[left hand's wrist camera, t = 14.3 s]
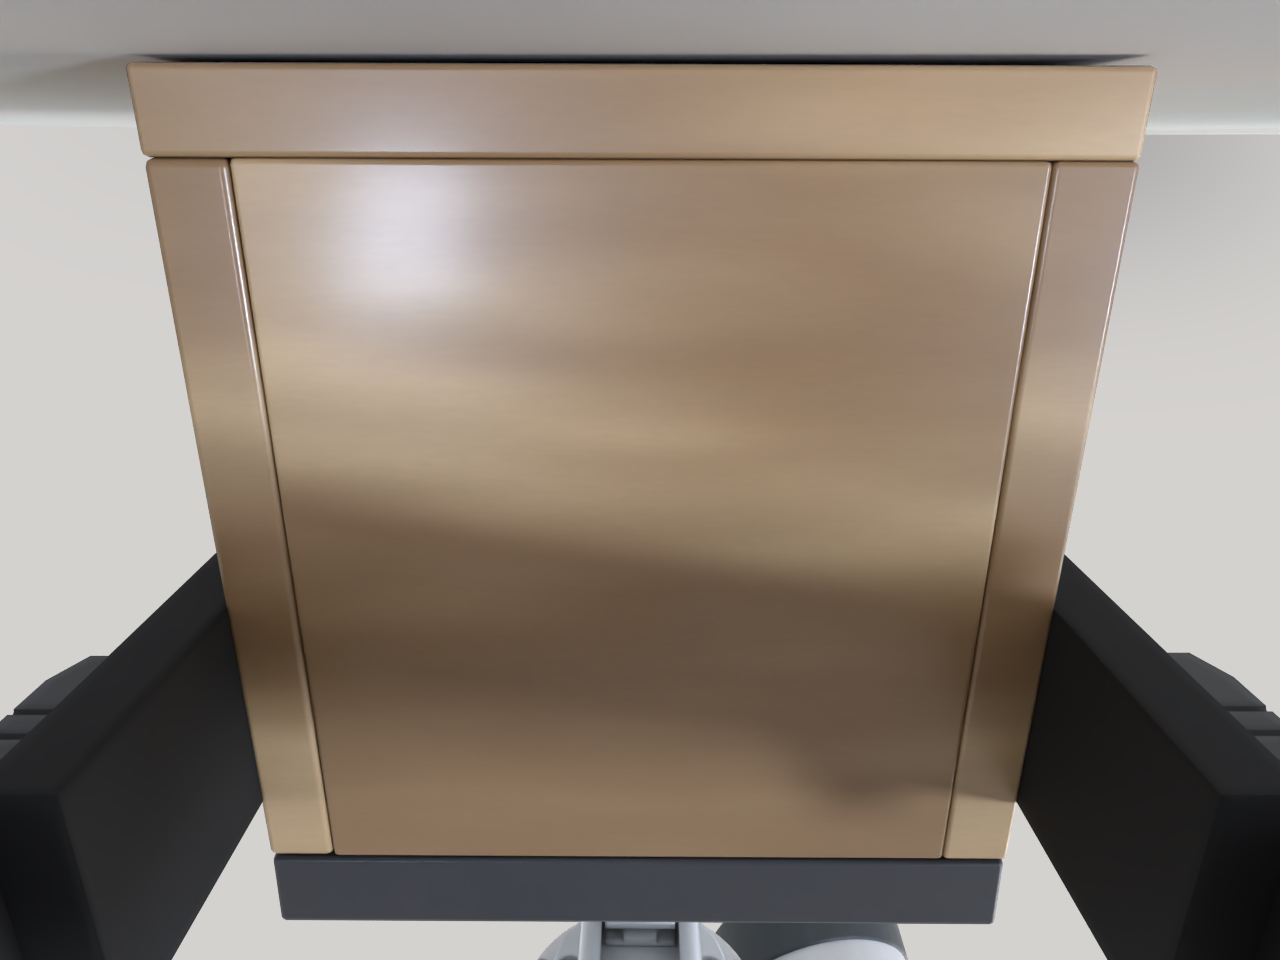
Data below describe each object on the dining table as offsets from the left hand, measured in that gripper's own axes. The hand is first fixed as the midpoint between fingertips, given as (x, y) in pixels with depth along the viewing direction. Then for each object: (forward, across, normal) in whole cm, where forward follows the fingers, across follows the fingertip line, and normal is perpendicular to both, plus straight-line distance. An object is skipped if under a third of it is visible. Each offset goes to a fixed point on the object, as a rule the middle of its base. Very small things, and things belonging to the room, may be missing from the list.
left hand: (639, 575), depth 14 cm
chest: (+5, 0, -7) cm, 8 cm away
